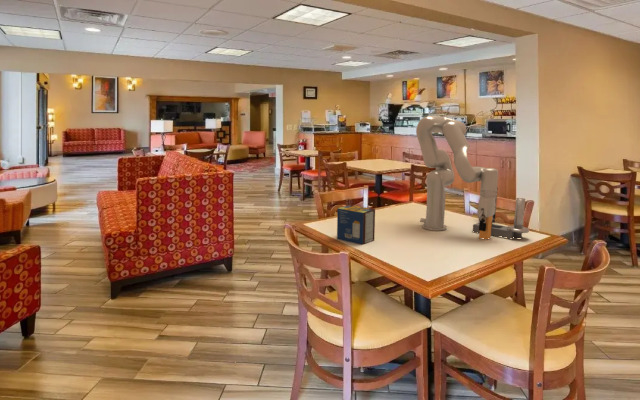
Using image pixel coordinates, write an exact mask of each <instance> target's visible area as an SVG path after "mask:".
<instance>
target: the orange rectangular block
mask: <svg viewBox="0 0 640 400" xmlns="http://www.w3.org/2000/svg"><path fill="white" fill-rule="evenodd" d="M484 217H485V216H484ZM483 219H484V218H483ZM492 224H493V223H492V216H490V217H487V219H486V231H480V232H479V233H478V234H479V235H478V239H480V238H484V239H483V240H485V239H488V238H490V237H492V236H491V226H492ZM490 239H491V238H490ZM488 240H489V239H488Z"/></svg>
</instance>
